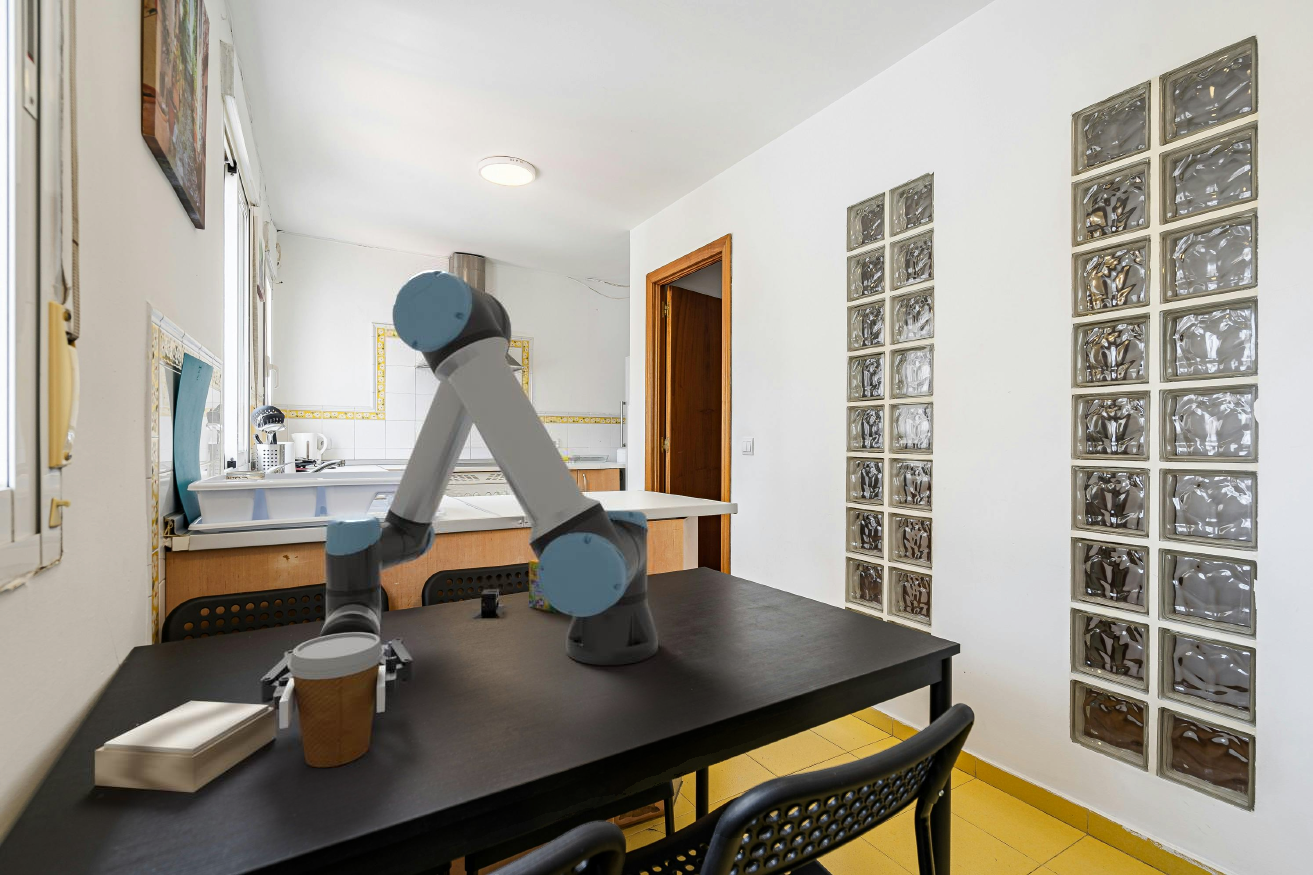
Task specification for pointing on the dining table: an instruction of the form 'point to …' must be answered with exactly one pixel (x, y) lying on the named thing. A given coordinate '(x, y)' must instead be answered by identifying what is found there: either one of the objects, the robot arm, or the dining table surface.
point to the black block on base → (489, 605)
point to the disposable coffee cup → (336, 695)
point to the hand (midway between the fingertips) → (333, 706)
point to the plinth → (185, 746)
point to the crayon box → (537, 590)
